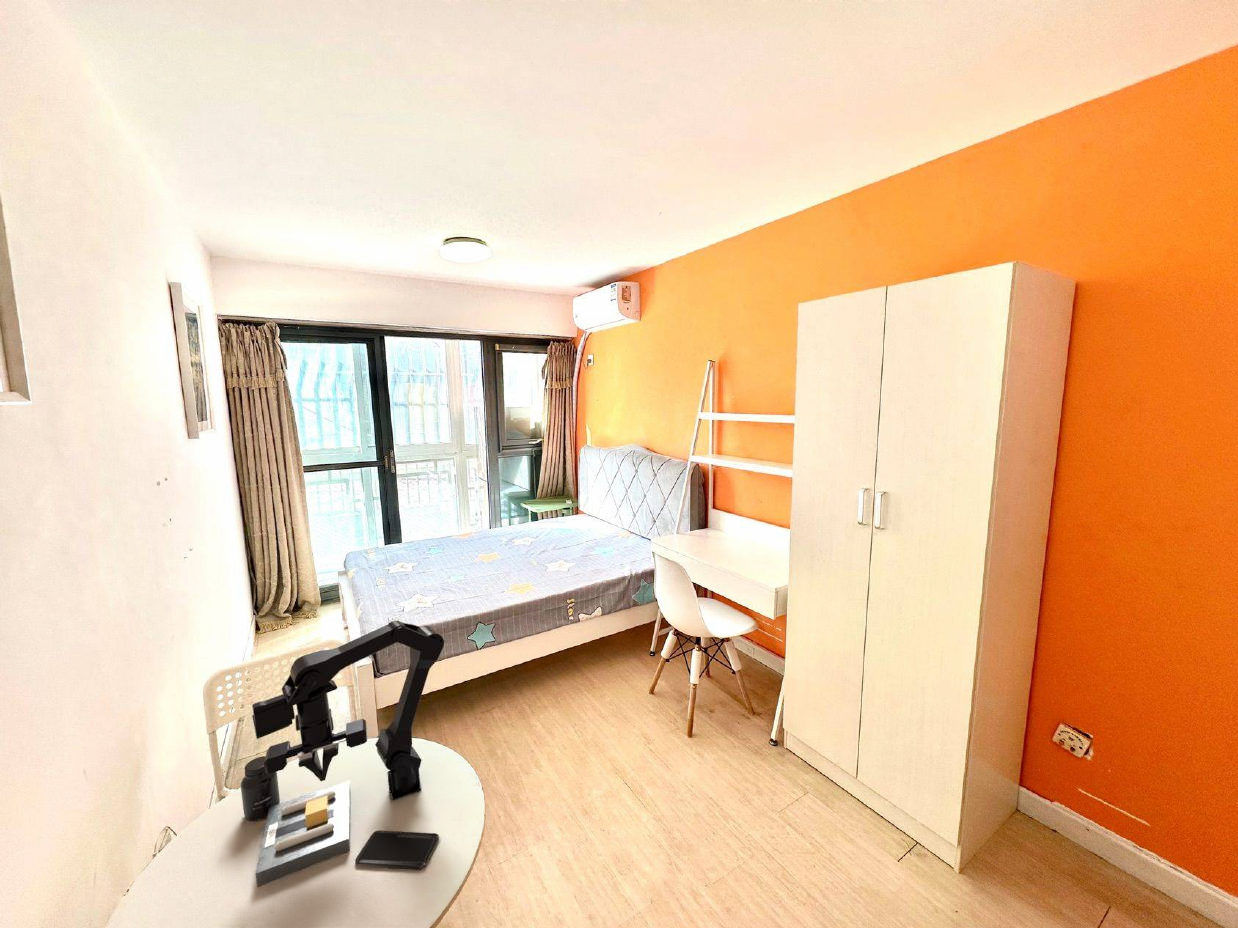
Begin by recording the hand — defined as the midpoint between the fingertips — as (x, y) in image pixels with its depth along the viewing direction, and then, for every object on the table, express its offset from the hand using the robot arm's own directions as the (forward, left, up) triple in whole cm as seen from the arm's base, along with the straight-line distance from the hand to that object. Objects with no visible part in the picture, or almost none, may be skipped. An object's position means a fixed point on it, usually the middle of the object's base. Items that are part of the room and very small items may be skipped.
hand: (323, 779), depth 109 cm
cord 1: (+4, +5, -9) cm, 11 cm away
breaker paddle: (+2, 0, -9) cm, 9 cm away
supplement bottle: (+14, -13, -12) cm, 22 cm away
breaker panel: (+4, 0, -12) cm, 12 cm away
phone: (-13, +14, -12) cm, 23 cm away
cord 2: (+4, -5, -9) cm, 11 cm away
